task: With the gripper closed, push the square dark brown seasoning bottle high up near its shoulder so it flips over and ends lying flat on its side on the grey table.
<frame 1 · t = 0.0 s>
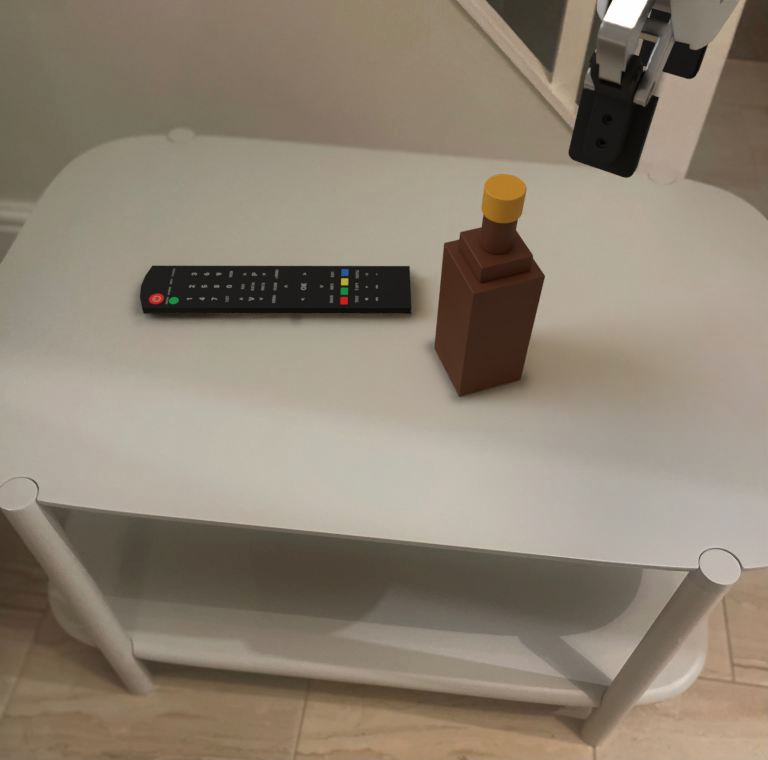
hand: (635, 114, 40), 29 cm above the table, tool pointing down, fingers open, 9 cm apart
bottle: (476, 363, 67), on the table
remote control: (277, 298, 72), on the table
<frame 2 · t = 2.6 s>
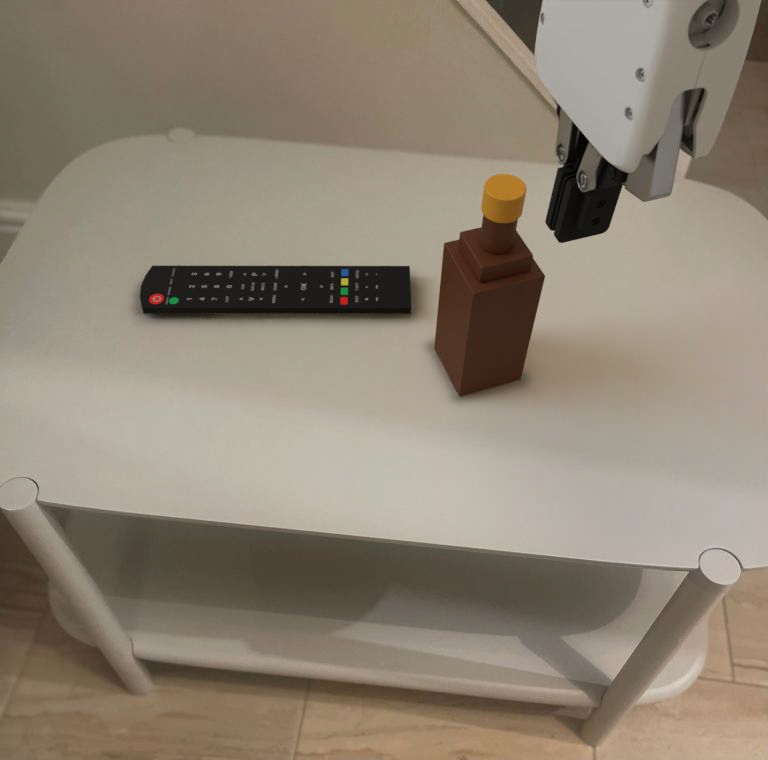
hand: (575, 228, 45), 22 cm above the table, tool pointing down, fingers closed
nothing on the table moved.
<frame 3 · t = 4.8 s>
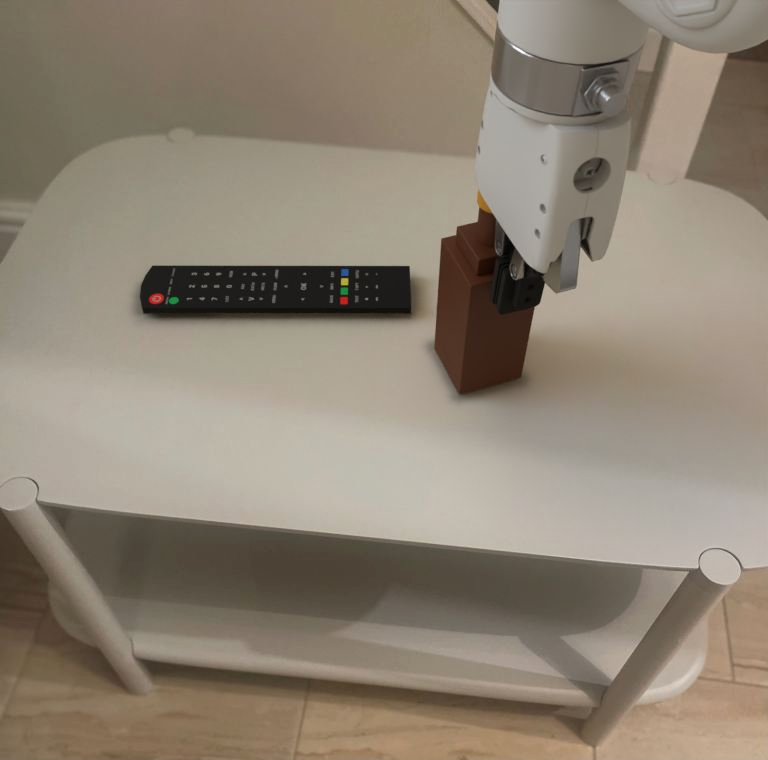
hand: (514, 302, 56), 11 cm above the table, tool pointing down, fingers closed
bottle: (476, 362, 67), on the table, touching gripper
everything else where it was.
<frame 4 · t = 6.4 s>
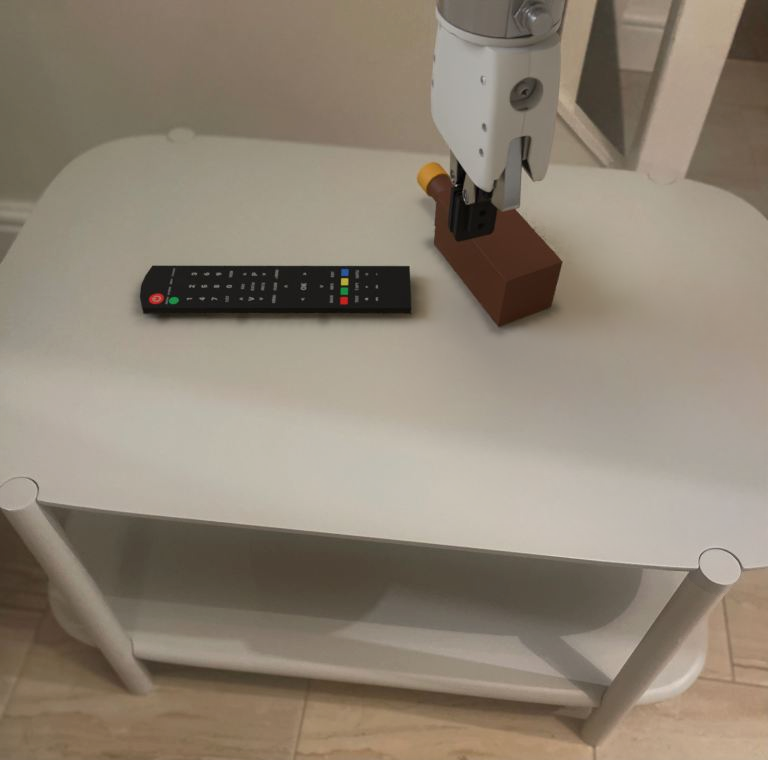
hand: (470, 231, 61), 11 cm above the table, tool pointing down, fingers closed
bottle: (529, 295, 68), point 3 cm above the table, tilted 90°
everything else where it was.
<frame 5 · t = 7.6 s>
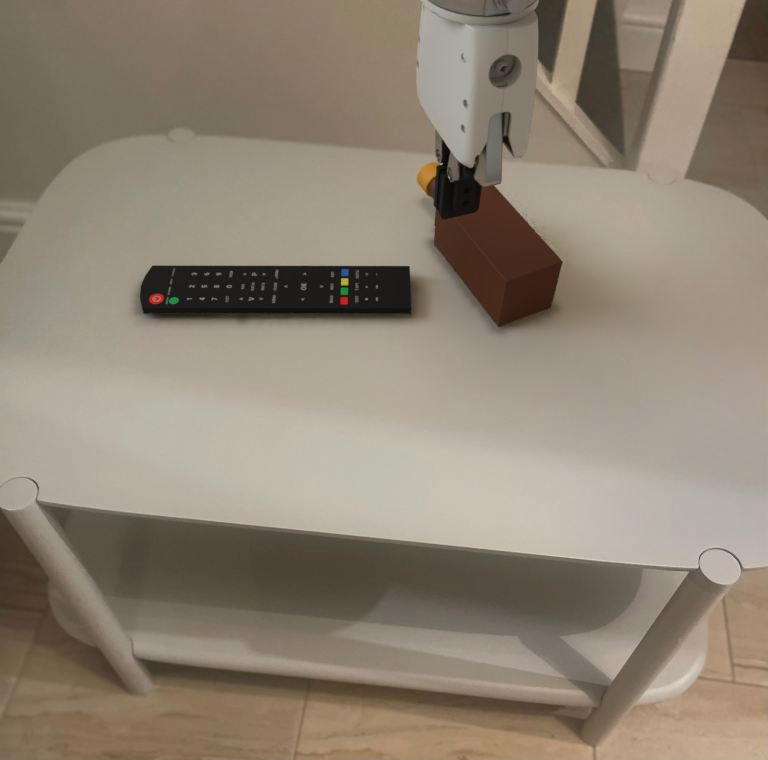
hand: (455, 209, 62), 11 cm above the table, tool pointing down, fingers closed
nothing on the table moved.
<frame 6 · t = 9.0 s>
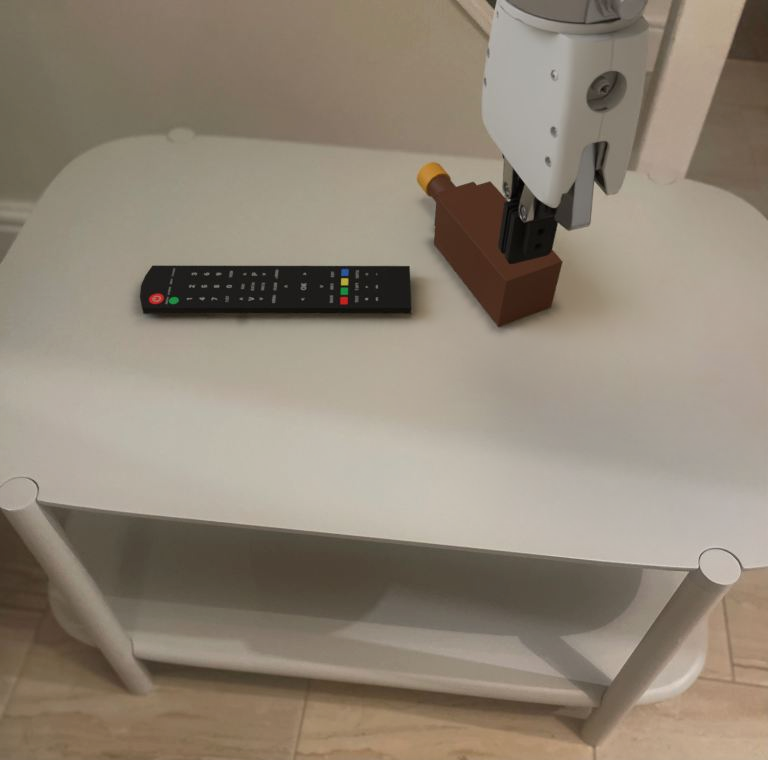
hand: (524, 251, 53), 16 cm above the table, tool pointing down, fingers closed
nothing on the table moved.
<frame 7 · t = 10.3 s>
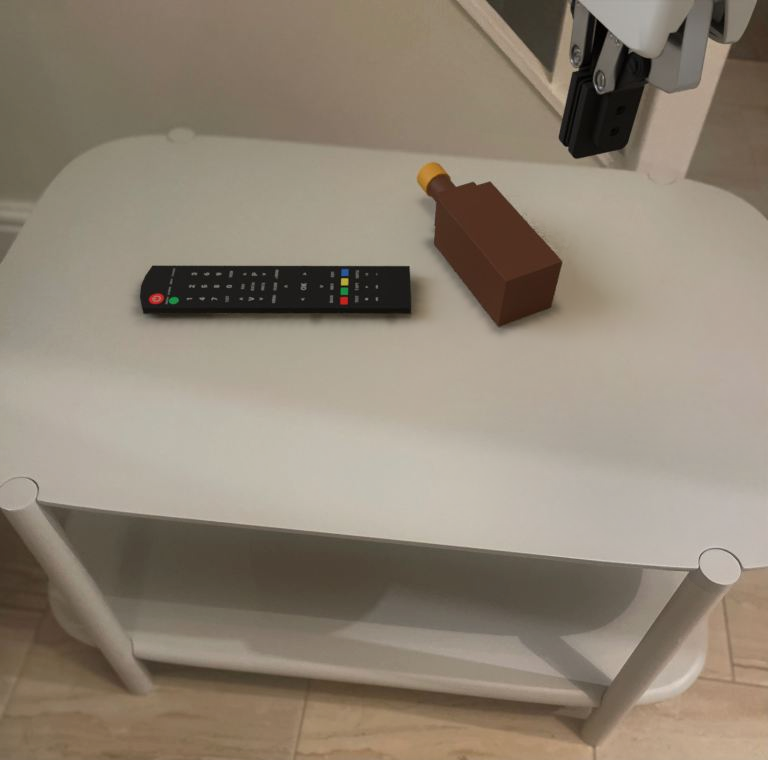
hand: (591, 144, 41), 27 cm above the table, tool pointing down, fingers closed
nothing on the table moved.
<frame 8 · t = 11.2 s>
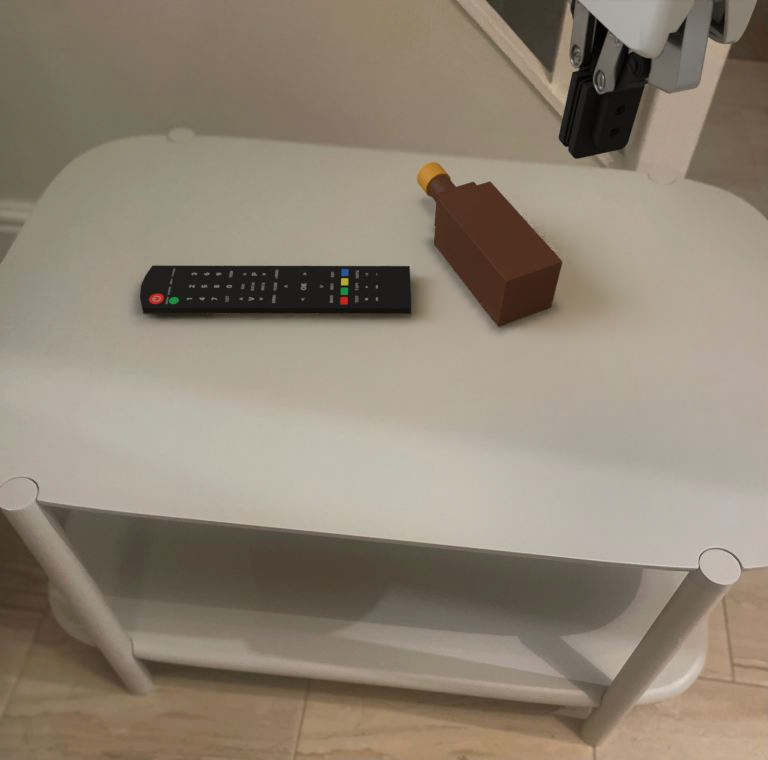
hand: (591, 144, 41), 27 cm above the table, tool pointing down, fingers closed
nothing on the table moved.
at the end: bottle tilted 90°; bottle inside the target area (9.7 cm from its centre), point 2.8 cm above the table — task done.
